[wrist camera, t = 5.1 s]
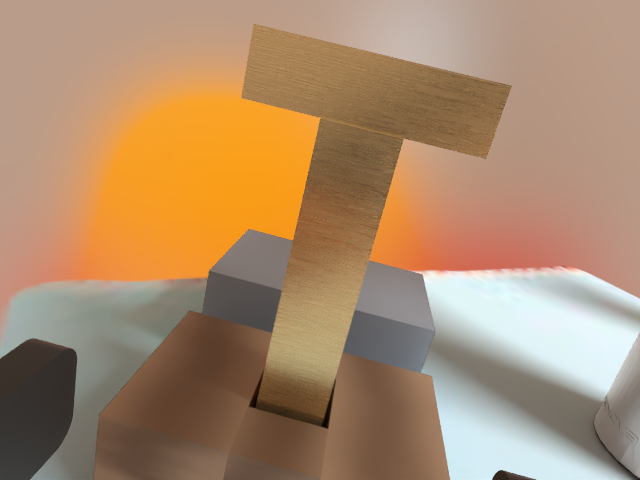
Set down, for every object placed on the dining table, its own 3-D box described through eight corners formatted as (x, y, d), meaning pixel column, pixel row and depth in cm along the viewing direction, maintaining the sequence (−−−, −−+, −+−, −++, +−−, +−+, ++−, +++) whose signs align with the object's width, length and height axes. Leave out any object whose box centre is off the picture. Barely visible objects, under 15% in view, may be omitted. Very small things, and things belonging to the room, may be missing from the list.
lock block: (408, 439, 27) (431, 376, 26) (420, 598, 19) (456, 517, 17) (179, 376, 28) (189, 310, 26) (91, 501, 19) (99, 415, 18)
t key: (369, 452, 24) (493, 86, 18) (368, 500, 21) (513, 85, 15) (204, 406, 25) (271, 33, 19) (181, 447, 22) (251, 22, 16)
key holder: (400, 340, 38) (422, 274, 36) (406, 412, 30) (435, 331, 28) (236, 296, 39) (248, 229, 37) (195, 353, 30) (209, 270, 28)
